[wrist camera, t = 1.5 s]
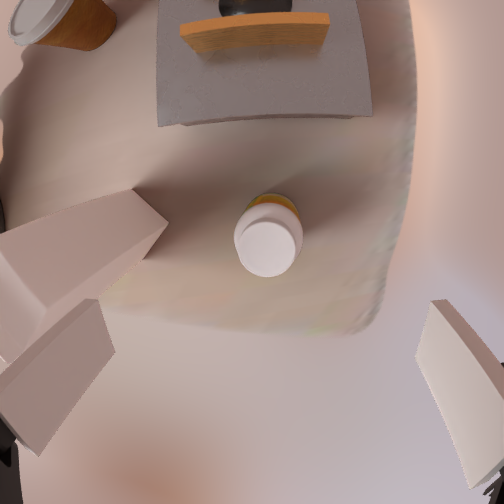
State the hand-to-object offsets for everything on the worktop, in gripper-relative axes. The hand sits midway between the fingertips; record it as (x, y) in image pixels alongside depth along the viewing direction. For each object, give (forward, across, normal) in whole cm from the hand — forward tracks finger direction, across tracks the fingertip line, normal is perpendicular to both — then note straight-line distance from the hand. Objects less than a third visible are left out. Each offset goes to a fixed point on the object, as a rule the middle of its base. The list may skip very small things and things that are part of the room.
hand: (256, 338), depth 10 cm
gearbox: (+19, 0, +20) cm, 28 cm away
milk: (+19, -15, 0) cm, 25 cm away
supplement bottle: (+20, 0, 0) cm, 20 cm away
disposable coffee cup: (+19, -20, +26) cm, 38 cm away
